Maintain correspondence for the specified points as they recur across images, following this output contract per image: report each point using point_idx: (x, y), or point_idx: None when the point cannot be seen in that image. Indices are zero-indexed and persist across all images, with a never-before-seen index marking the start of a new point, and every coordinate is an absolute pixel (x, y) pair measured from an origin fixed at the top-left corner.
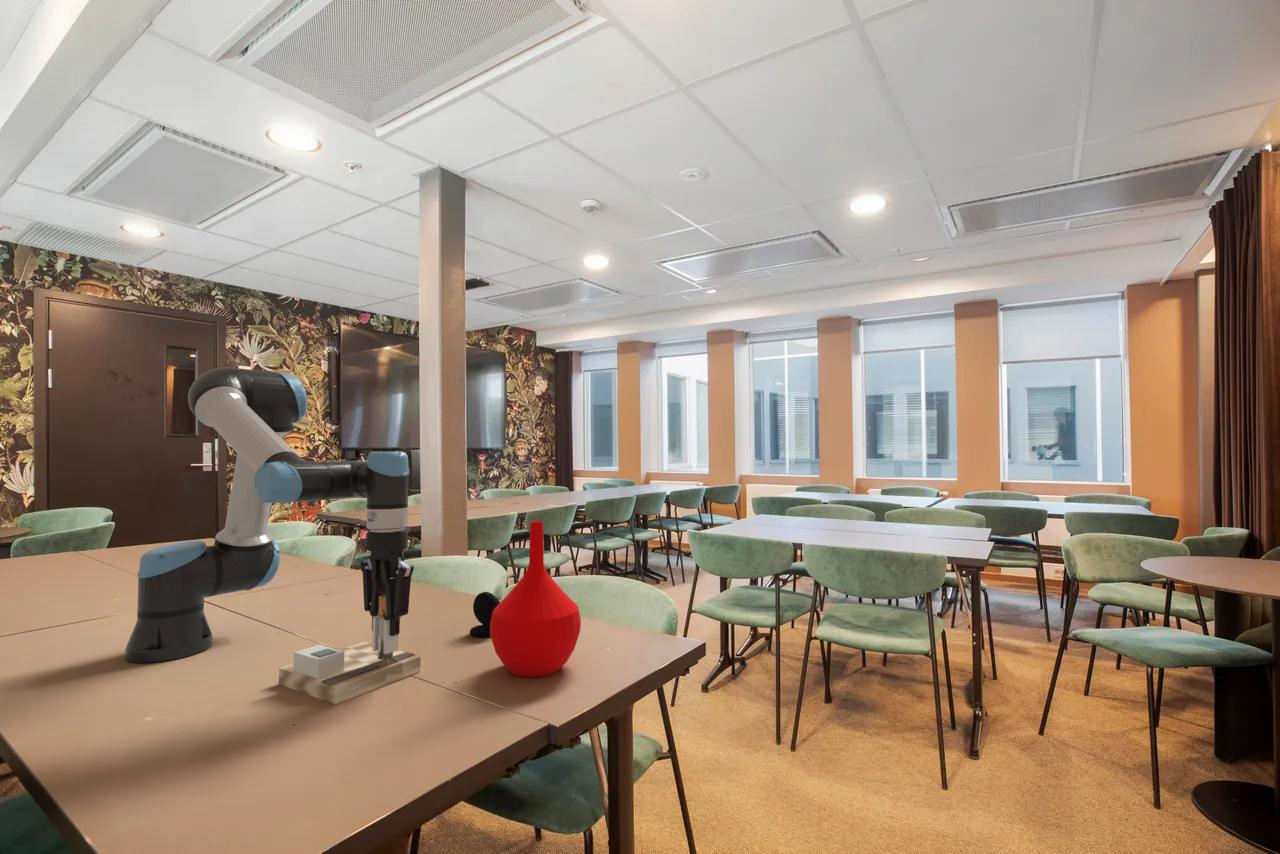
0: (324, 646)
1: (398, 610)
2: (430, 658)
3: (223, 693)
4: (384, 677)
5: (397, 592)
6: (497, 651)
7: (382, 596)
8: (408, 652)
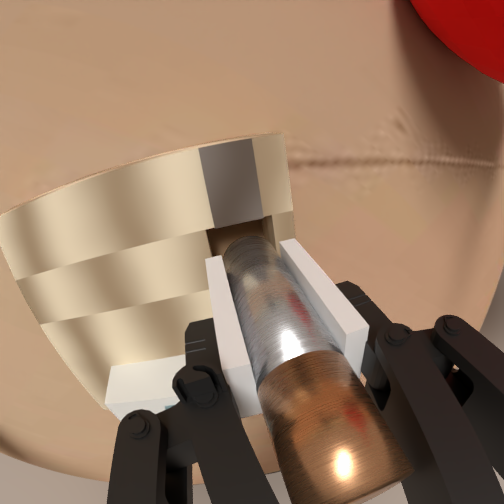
0: (128, 402)
1: (457, 380)
2: (177, 49)
3: (108, 424)
4: None
5: (500, 448)
6: (480, 65)
7: (366, 500)
8: (214, 147)
